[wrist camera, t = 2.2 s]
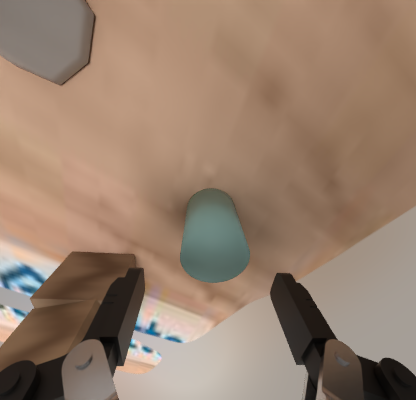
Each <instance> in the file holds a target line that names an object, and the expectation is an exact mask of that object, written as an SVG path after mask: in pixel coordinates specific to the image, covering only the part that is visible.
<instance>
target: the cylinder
mask: <svg viewBox="0 0 416 400" xmlns="http://www.w3.org/2000/svg"><path fill="white" fill-rule="evenodd" d="M249 259H250V251H249V247H248V244H247V241H246V238H245V235H244V233H243V230H242V227H241V224H240V221H239V218H238V215H237V212H236V209H235V206H234V203H233V201H232V199H231V198H230V196H229V195H228V194H226V193H225V192H223V191H221V190H218V189H204V190H201V191H199V192H197V193H196V194H194V195H193V196H192V198H191V199H190V200H189V203H188V206H187V212H186V219H185V226H184V233H183V240H182V247H181V253H180V261H181V264H182V267H183V268H184V270H185V271H186V272H187V273H188V274H189V275H190V276H192V277H193V278H195V279H197V280H200V281H203V282H210V283H217V282H224V281H227V280H230V279H232V278H234V277H236V276H238V275H239V274H240V273H241V272H242V271H243V270H244V269H245V268H246V266H247V265H248V262H249Z"/></svg>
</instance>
